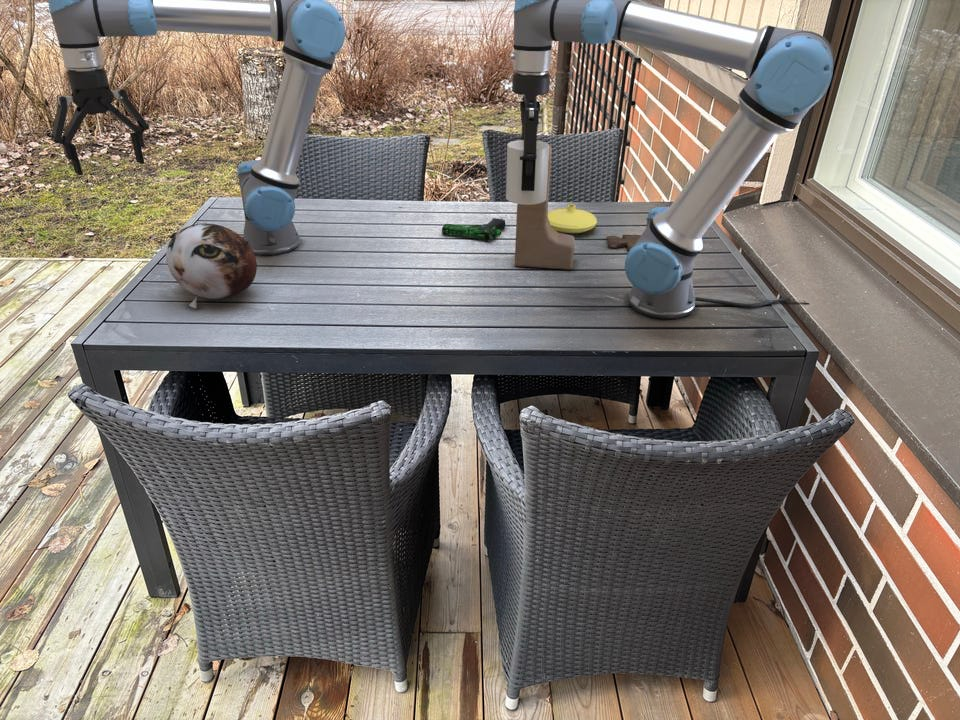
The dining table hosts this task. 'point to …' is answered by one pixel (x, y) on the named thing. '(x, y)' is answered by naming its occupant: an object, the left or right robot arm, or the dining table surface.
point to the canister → (515, 174)
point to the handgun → (476, 230)
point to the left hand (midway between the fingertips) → (110, 168)
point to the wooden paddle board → (622, 241)
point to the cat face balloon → (211, 261)
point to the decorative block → (541, 237)
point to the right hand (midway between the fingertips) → (526, 183)
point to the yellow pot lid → (571, 220)
